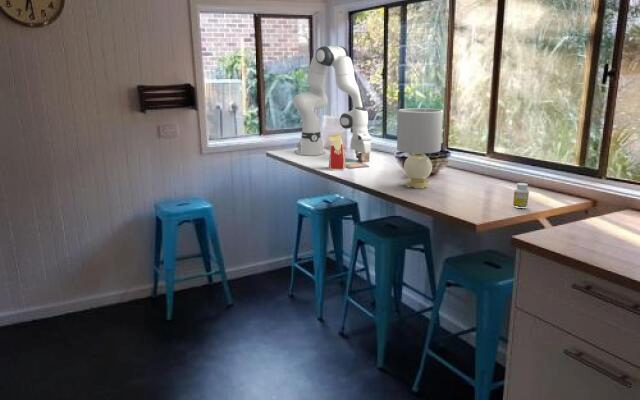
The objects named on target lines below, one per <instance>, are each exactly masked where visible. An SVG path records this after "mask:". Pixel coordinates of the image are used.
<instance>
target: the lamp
mask: <svg viewBox="0 0 640 400" xmlns="http://www.w3.org/2000/svg"><path fill="white" fill-rule="evenodd" d="M443 116H444V111H443V110H442V109H437V108H428V107H427V108H425V107H424V108H423V107H421V108H419V107H418V108H417V107H416V108H415V107H414V108H400V109H398V110H397V124H396V125H397V127H396V128H397V131H396V132H397V134H396V135H397V136H396V150H397V151H398V152H403V153H408V154H410V155H409V156H408V157H407V158H406V159H405V161H404V165H403V170H404V174H405V176H407V177H408V178H406V179H405V187H407V186H409V187H417V188H416V189H423V188H422V187H427V186H430V180H429V179H427V178H428V177H429V176H430V175H431V173H432V170H433V164H432V161H431V159H430V158H429V157H428V156H427V155H426V154H432V153H433V154H434V153H438V152H440V151H441V150H442V149H441V148H442V134H443V132H442V131H443ZM409 187H408V188H409ZM427 188H428V187H427Z"/></svg>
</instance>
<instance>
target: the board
mask: <svg viewBox="0 0 640 400" xmlns="http://www.w3.org/2000/svg"><path fill="white" fill-rule="evenodd" d="M369 167H370V165H367V164H365V163H364V162H363V163H361V162H359V161H358V160H353V161H345V168H346V169H351V170H352V169H361V168H369Z"/></svg>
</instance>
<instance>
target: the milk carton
mask: <svg viewBox="0 0 640 400" xmlns="http://www.w3.org/2000/svg"><path fill="white" fill-rule="evenodd" d="M328 137H329V140H330V151H329V152H330V153H329V162H328V170H330V171H341V172H342V171H345V169H346V167H345V162H346V155H345V148H344V143H343V140H342V132H339V133H336V134H332V135H331V134H330V135H328Z"/></svg>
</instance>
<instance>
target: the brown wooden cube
mask: <svg viewBox="0 0 640 400" xmlns="http://www.w3.org/2000/svg"><path fill="white" fill-rule="evenodd" d="M361 155H362V154H361V152H359V153H358V158H357V161H358V162H361V163H363V164H364V163H370V153H369V154H366V155H365V157H364V160H361Z"/></svg>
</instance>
